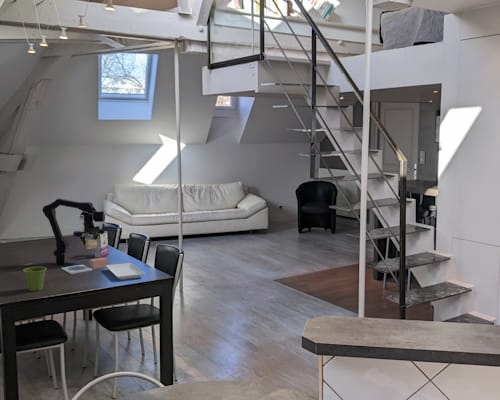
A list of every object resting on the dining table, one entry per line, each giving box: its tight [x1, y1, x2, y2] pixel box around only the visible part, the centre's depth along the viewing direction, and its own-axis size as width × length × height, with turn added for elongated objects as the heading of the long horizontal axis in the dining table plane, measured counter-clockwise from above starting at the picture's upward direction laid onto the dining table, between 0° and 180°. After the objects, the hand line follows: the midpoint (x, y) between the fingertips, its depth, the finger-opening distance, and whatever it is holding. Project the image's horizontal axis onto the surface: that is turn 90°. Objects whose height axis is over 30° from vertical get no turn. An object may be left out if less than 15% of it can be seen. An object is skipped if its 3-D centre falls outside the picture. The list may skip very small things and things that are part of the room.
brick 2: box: [88, 256, 109, 270], centre depth 349 cm, size 10×6×5 cm, turn 128°
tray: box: [105, 262, 146, 281], centre depth 330 cm, size 17×31×4 cm, turn 26°
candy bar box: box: [94, 230, 109, 259], centre depth 379 cm, size 11×5×16 cm, turn 168°
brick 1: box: [81, 237, 97, 250], centre depth 357 cm, size 10×6×5 cm, turn 39°
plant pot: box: [22, 266, 48, 292], centre depth 298 cm, size 12×12×11 cm
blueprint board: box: [60, 264, 94, 275], centre depth 342 cm, size 16×14×1 cm
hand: (89, 245), depth 357 cm, fingers closed on brick 1, 6 cm apart
